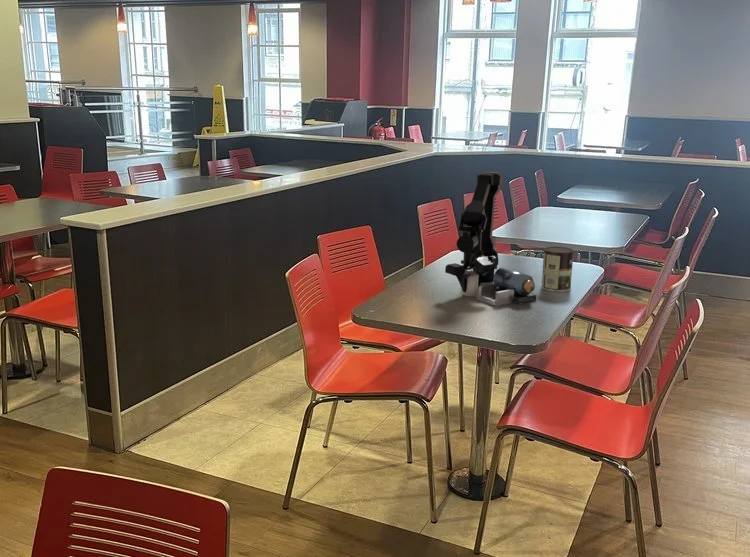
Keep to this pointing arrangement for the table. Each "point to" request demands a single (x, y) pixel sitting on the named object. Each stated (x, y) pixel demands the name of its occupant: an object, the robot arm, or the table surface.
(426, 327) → the table surface
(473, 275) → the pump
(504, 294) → the motor
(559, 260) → the coffee can
